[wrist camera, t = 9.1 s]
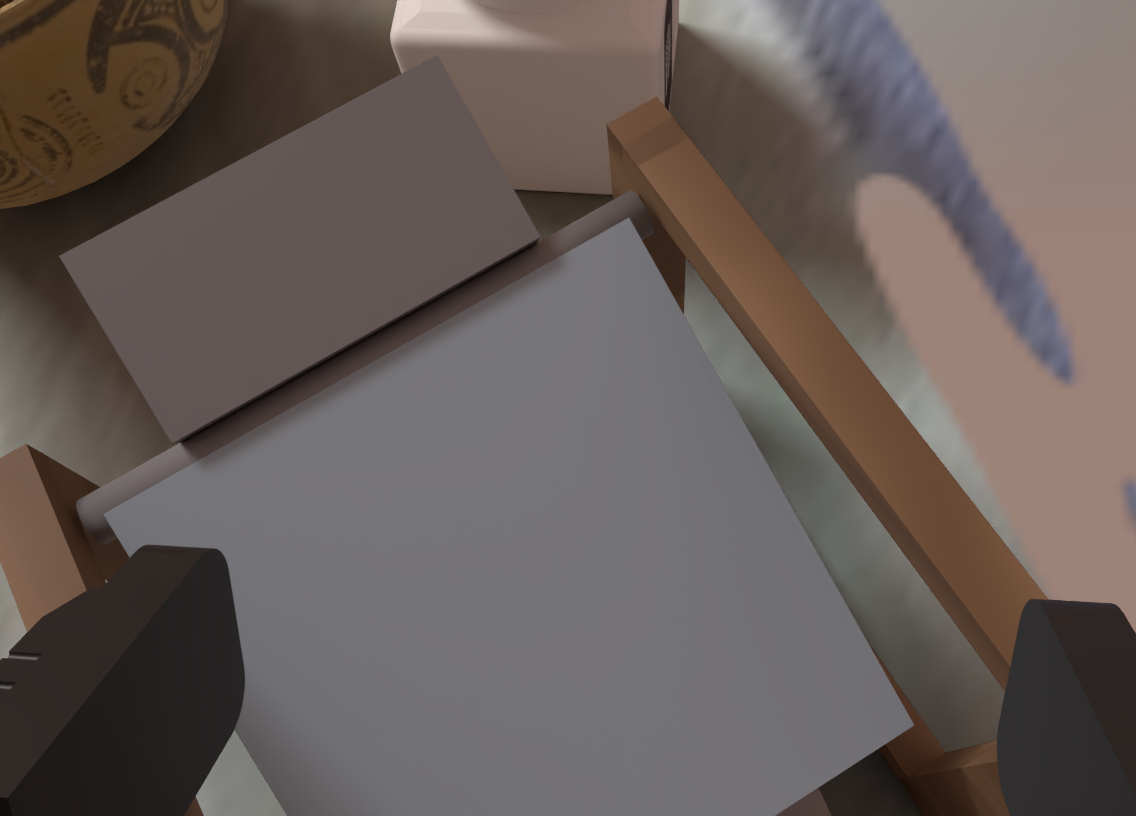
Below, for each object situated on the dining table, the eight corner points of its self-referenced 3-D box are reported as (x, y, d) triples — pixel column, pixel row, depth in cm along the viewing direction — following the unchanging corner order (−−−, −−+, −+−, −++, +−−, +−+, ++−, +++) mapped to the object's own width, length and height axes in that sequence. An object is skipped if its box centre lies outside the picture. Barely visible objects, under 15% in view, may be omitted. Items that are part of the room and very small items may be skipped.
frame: (474, 1119, 27) (310, 1370, 15) (236, 608, 33) (-33, 476, 20) (962, 795, 29) (1185, 775, 17) (661, 360, 34) (656, 96, 22)
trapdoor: (408, 1016, 22) (407, 1063, 21) (-16, 321, 21) (-51, 314, 20) (902, 698, 24) (936, 718, 22) (528, 30, 23) (535, 2, 21)
